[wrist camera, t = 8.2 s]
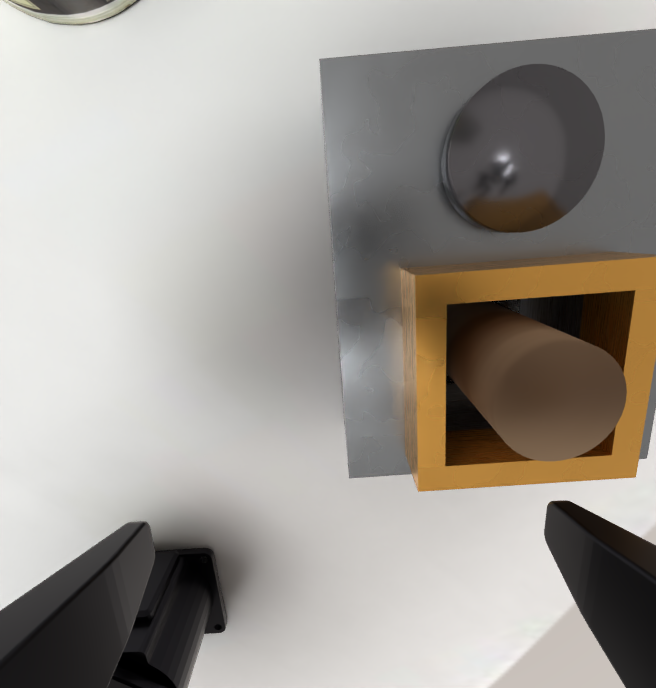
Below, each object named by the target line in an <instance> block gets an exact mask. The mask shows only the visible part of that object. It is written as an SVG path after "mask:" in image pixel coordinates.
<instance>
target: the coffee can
mask: <svg viewBox="0 0 656 688" xmlns="http://www.w3.org/2000/svg"><path fill="white" fill-rule="evenodd" d="M3 1H4V2H6V3H8V4H9V5H11V6H13V7H14V8H16V9H18V10H20V11H22V12H24V13H26V14H28V15H31V16H33V17H36V18H39V19H42V20H45V21H48V22H51V23H59V24H85V23H93V22H97V21H101V20H104V19H106V18H109V17H111V16H114V15H116V14H118V13H120V12H121V11H123V10H124V9H126V8H127V7H129V6H130V5H132V4H133V3H134V2H136V1H137V0H3Z"/></svg>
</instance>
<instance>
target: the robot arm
mask: <svg viewBox="0 0 656 688" xmlns="http://www.w3.org/2000/svg"><path fill="white" fill-rule="evenodd" d="M544 535H545V540H546V543H547V545H548V547H549V549H550V551H551V553H552V555H553V557H554V560H555V562H556V564H557V566H558V568H559V570H560V572H561V574H562V576H563V578H564V580H565V582H566V584H567V586H568V588H569V590H570V592H571V594H572V596H573V598H574V600H575V602H576V604H577V606H578V608H579V610H580V612H581V614H582V615H583V617H584V619H585V621H586V622H587V624H588V626H589V628H590V629H591V631H592V632H593V634H594V636H595V638H596V639H597V641H598V643H599V644H600V646H601V647H602V649H603V651H604V652H605V654H606V656H607V657H608V659H609V661H610V662H611V664H612V666H613V667H614V669H615V671H616V672H617V674H618V675H619V677H620V679H621V680H622V682H623V684H624V685H625V687H626V688H656V545H654V544H652V543H650V542H648V541H646V540H644V539H642V538H640V537H638V536H636V535H635V534H633V533H631V532H629V531H627V530H625V529H623V528H621V527H619V526H617V525H615V524H613V523H611V522H609V521H607V520H605V519H603V518H601V517H600V516H598V515H596V514H594V513H592V512H590V511H588V510H586V509H584V508H582V507H580V506H578V505H576V504H574V503H572V502H570V501H551V502H550V503H549V504H548V506H547V512H546V520H545V529H544ZM203 556H204V557H207V558H204V557H203ZM226 625H227V618H226V613H225V608H224V603H223V598H222V593H221V587H220V582H219V577H218V572H217V567H216V562H215V557H214V553H213V551H212V550H210V549H208V548H199V549H183V550H167V551H155V549H154V544H153V539H152V534H151V529H150V525H149V524H148V523H147V522H145V521H140V522H129V523H127V524H125V525H124V526H122V527H121V528H119V529H118V530H117V531H115V532H114V533H112V534H111V535H109V536H108V537H106V538H105V539H103V540H102V541H101V542H99V543H98V544H96V545H95V546H93V547H92V548H90V549H89V550H88V551H86V552H85V553H83V554H82V555H80V556H79V557H77V558H76V559H75V560H73V561H72V562H70V563H69V564H67V565H66V566H64V567H63V568H62V569H60V570H59V571H57V572H56V573H54V574H53V575H51V576H50V577H48V578H47V579H46V580H44V581H43V582H41V583H40V584H38V585H37V586H35V587H34V588H33V589H31V590H30V591H28V592H27V593H25V594H24V595H22V596H21V597H20V598H18V599H17V600H15V601H14V602H12V603H11V604H9V605H8V606H6V607H5V608H4V609H2V610H1V611H0V688H188V684H189V681H190V678H191V675H192V671H193V668H194V665H195V662H196V658H197V655H198V652H199V649H200V645H201V642H202V639H203V636H204V634H208V633H221V632H223V631H224V630H225V628H226Z"/></svg>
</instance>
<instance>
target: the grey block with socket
mask: <svg viewBox="0 0 656 688" xmlns="http://www.w3.org/2000/svg"><path fill="white" fill-rule="evenodd" d="M320 79H321V99H322V115H323V129H324V143H325V157H326V171H327V185H328V199H329V213H330V227H331V241H332V255H333V268H334V282H335V296H336V310H337V324H338V338H339V352H340V366H341V380H342V394H343V408H344V421H345V434H346V445H347V457H348V468H349V478H359V477H374V476H389V475H404V474H412V475H413V478H414V481H415V484H416V487H417V490H418V492H419V491H434V490H449V489H465V488H480V487H495V486H511V485H526V484H541V483H557V482H572V481H587V480H602V479H618V478H633V477H636V473H637V467H638V461H639V459H646V458H647V455H648V449H649V443H650V437H651V431H652V426H653V420H654V414H655V408H656V29H648V30H637V31H626V32H615V33H604V34H592V35H581V36H570V37H559V38H548V39H537V40H526V41H514V42H503V43H492V44H481V45H470V46H459V47H448V48H436V49H425V50H414V51H403V52H392V53H381V54H369V55H358V56H347V57H336V58H325V59H320ZM511 299H520V313H519V314H522V315H524V316H526V317H529V318H531V319H533V320H536V321H538V322H540V323H543V324H545V325H547V326H550V327H552V328H555V329H557V330H559V331H562V332H564V333H566V334H569V335H571V336H573V337H576V338H578V339H580V340H583V341H585V342H587V343H590V344H592V345H594V346H597V347H599V348H601V349H603V350H604V351H606V352H607V353H608V354H610V355H611V356H612V357H613V358H614V359H615V360H616V361H617V363H618V364H619V366H620V367H621V369H622V371H623V374H624V376H625V381H626V387H627V396H626V403H625V407H624V410H623V413H622V416H621V417H620V419H619V421H618V423H617V425H616V426H615V428H614V429H613V430H612V432H611V433H610V434H609V435H608V436H607V437H606V438H605V439H604V440H603V441H602V442H601V443H599V444H598V445H597V446H595V447H594V448H592V449H591V450H589V451H588V452H586V453H583V454H581V455H579V456H576V457H574V458H571V459H566V460H561V461H538V460H534V459H530V458H527V457H524V456H522V455H520V454H519V453H517V452H515V451H514V450H513V449H511V448H510V447H509V446H508V445H507V444H506V443H505V442H504V440H503V439H502V438H501V437H500V436H499V435H498V433H497V432H496V431H495V430H494V429H493V427H492V426H491V425H490V424H489V423H488V421H487V420H486V419H485V418H484V417H483V416H482V414H481V413H480V412H479V411H478V410H477V408H476V407H475V406H474V405H473V404H472V402H471V401H470V400H469V399H468V398H467V397H466V395H465V394H464V393H463V392H462V391H461V389H460V388H459V387H458V386H457V385H456V384H446V323H447V304H458V303H472V302H485V301H498V300H511Z"/></svg>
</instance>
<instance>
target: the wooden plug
mask: <svg viewBox="0 0 656 688" xmlns="http://www.w3.org/2000/svg"><path fill="white" fill-rule="evenodd" d="M446 373H447V374H448V375H449V376H450V378H451V379H452V380H453V381H454V382H455V383H456V385H457V386H458V387H459V388H460V389H461V391H462V392H463V393H464V394H465V395H466V397H467V398H468V399H469V400H470V401H471V402H472V404H473V405H474V406H475V407H476V408H477V410H478V411H479V412H480V413H481V414H482V416H483V417H484V418H485V419H486V420H487V421H488V423H489V424H490V425H491V426H492V427H493V429H494V430H495V431H496V432H497V433H498V435H499V436H500V437H501V438H502V439H503V440H504V442H505V443H506V444H507V445H508V446H509V447H510V448H511V449H513V450H514V451H515V452H517V453H519V454H520V455H522V456H524V457H527V458H530V459H534V460H538V461H561V460H566V459H571V458H574V457H576V456H579V455H581V454H583V453H586V452H588V451H589V450H591V449H592V448H594V447H595V446H597V445H598V444H599V443H601V442H602V441H603V440H604V439H605V438H606V437H607V436H608V435H609V434H610V433H611V432H612V430H613V429H614V428H615V426H616V425H617V423H618V421H619V419H620V417H621V416H622V413H623V410H624V407H625V403H626V396H627V387H626V381H625V376H624V374H623V371H622V369H621V367H620V366H619V364H618V363H617V361H616V360H615V359H614V358H613V357H612V356H611V355H610V354H608V353H607V352H606V351H604V350H603V349H601V348H599V347H597V346H594V345H592V344H590V343H587V342H585V341H583V340H580V339H578V338H576V337H573V336H571V335H569V334H566V333H564V332H562V331H559V330H557V329H555V328H552V327H550V326H547V325H545V324H543V323H540V322H538V321H536V320H533V319H531V318H529V317H526V316H524V315H522V314H519V313H517V312H515V311H512V310H510V309H508V308H505V307H503V306H500V305H498V304H496V303H493V302H491V301H485V302H472V303H458V304H447V323H446Z"/></svg>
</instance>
